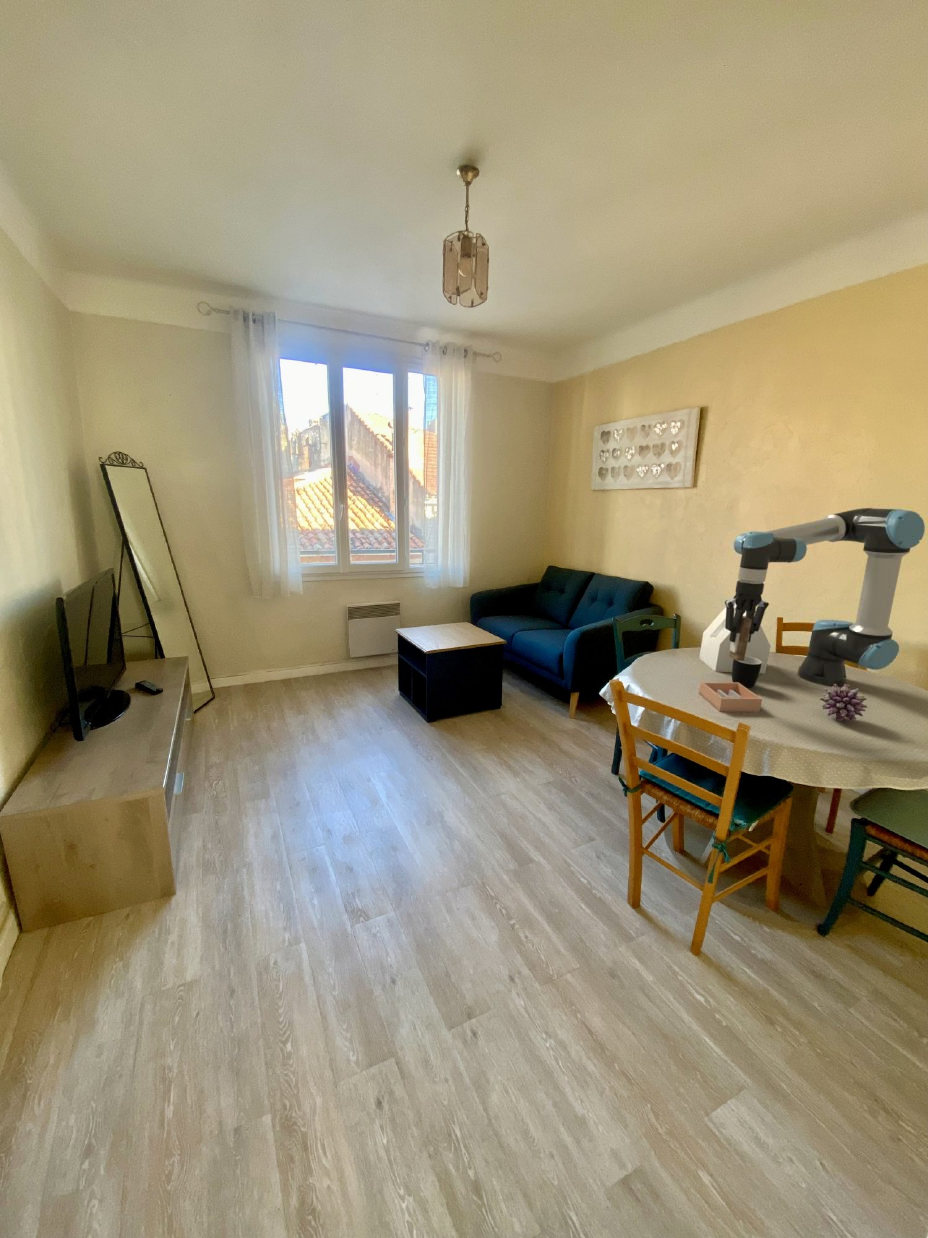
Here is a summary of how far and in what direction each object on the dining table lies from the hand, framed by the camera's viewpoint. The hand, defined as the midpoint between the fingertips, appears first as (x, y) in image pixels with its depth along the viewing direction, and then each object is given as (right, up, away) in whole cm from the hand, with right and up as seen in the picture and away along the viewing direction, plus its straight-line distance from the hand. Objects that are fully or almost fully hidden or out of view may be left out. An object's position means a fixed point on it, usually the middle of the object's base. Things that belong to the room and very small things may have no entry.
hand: (737, 651), depth 157 cm
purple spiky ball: (+29, -22, -6) cm, 37 cm away
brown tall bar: (0, -2, +1) cm, 3 cm away
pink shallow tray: (0, -18, +5) cm, 19 cm away
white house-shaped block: (+20, -9, +39) cm, 45 cm away
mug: (+13, -14, +21) cm, 28 cm away
